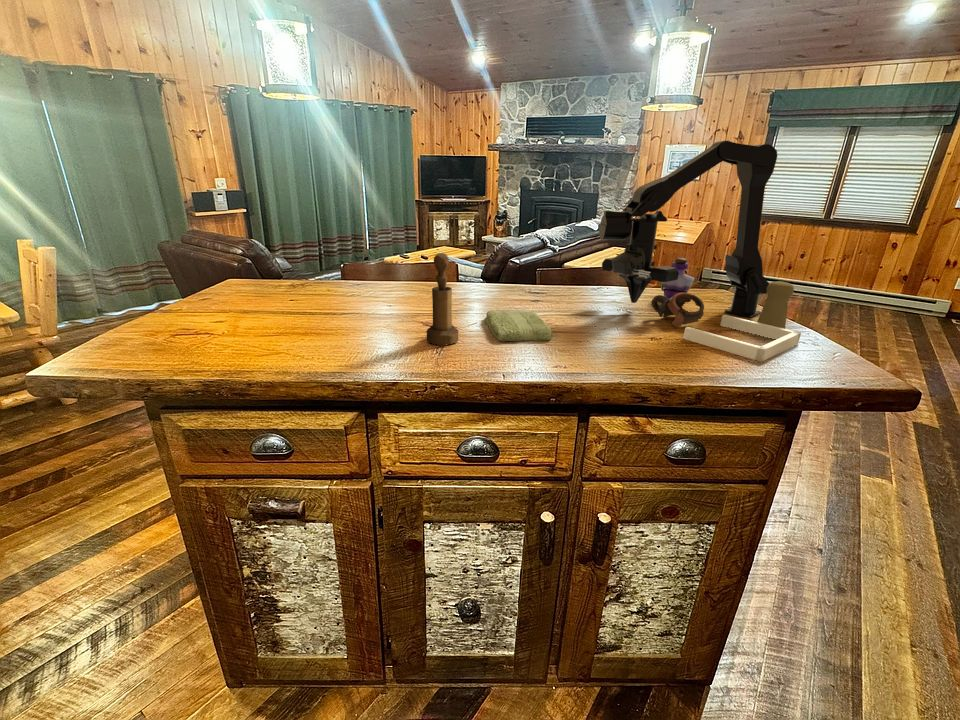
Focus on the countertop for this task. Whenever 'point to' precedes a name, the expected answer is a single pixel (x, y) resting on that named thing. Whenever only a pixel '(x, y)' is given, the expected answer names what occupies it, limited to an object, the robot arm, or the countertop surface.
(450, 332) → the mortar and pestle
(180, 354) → the countertop surface
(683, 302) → the brown looped piece
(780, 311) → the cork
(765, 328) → the cream bay
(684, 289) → the potion bottle
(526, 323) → the washcloth
